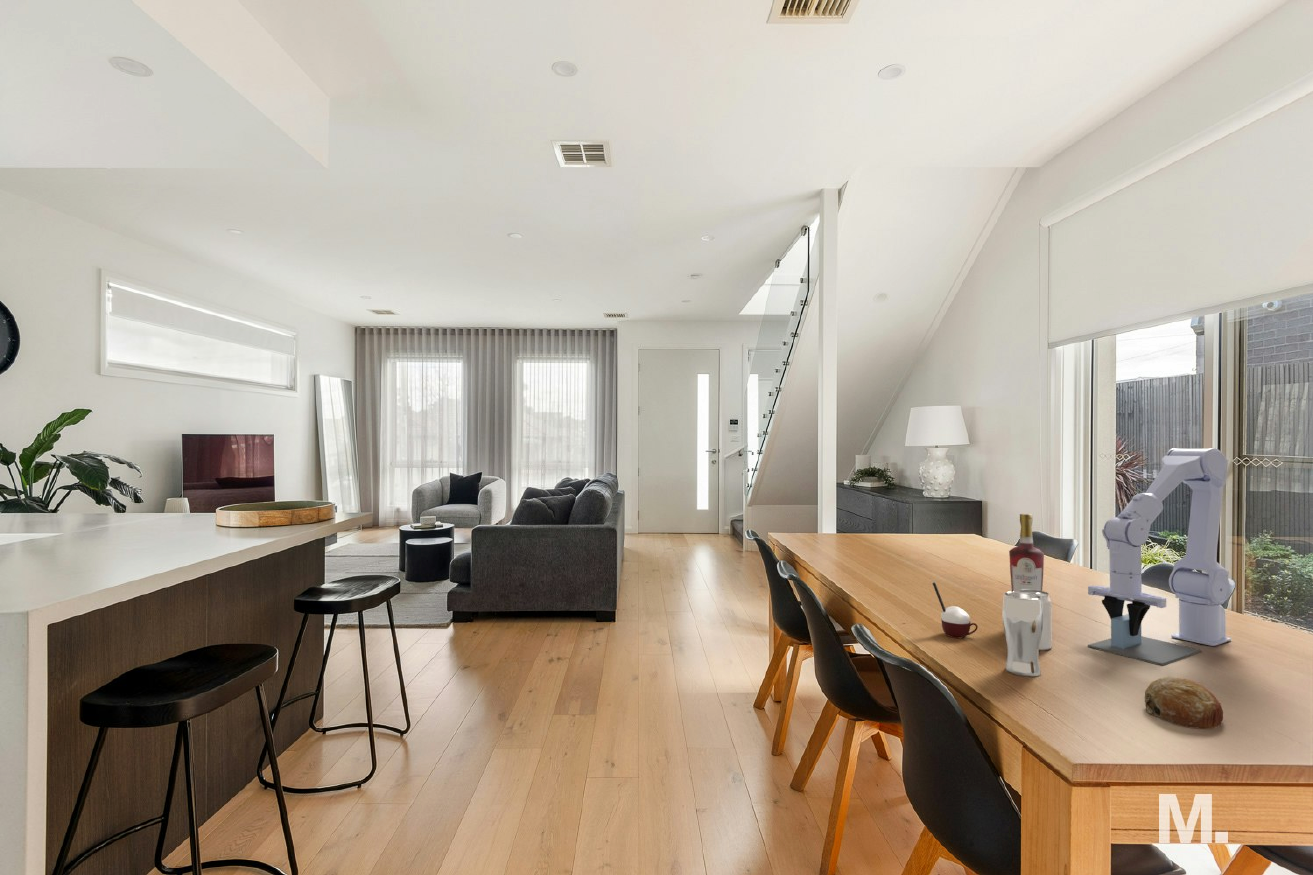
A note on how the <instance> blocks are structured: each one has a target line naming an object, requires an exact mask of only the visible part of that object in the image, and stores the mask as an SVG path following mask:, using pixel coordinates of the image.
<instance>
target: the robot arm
mask: <svg viewBox="0 0 1313 875" xmlns="http://www.w3.org/2000/svg"><path fill="white" fill-rule="evenodd" d="M1228 464H1229V459H1227V457H1226V456H1225V455H1224V454H1223V452H1222V451H1221V450H1220V449H1218V448H1216V447H1215V448H1214V447H1212V448H1211V447H1210V448H1179V447H1178V448H1175V447H1174V448H1170V449H1169V450H1168V451H1167V452H1166V453H1165V455H1164V456H1163V457H1162V458H1161V469H1160V470H1159V473H1158V474H1157V475H1156V477H1154V480H1153V481H1152V482H1151V484H1150V485H1149V487H1148V488H1147V489H1146V491H1145V492H1143V493H1142V492H1140V493H1137V494H1136V495H1135V494H1134V495H1133V497H1131V500H1130V501H1129V502H1128V504H1127V505H1126V506H1125V507H1124V508H1123V509H1122V510H1121V512H1120V513H1119V515H1117V517H1111V518H1110V519H1108V520H1107V521H1106V522H1105V523H1104V526H1103V529H1102V530H1101V533H1102V536H1103V538H1104V539H1105V541H1106V548H1107V550H1109V552H1108V553H1109V587H1105V586H1098V585H1094V584H1093V585H1092V584H1091V585H1088V586H1087V594H1088V595H1089V596H1099V597H1103V599H1101V604H1102V605H1103V607H1104V608H1105V610H1106V612H1107V614H1108V617H1109V619H1110V620H1111V618H1115V617H1119V616H1123V612H1124V605H1125V602H1130V603H1127V604H1126V609H1127V614H1129V630H1130V635H1131V636H1136V635H1138V632H1139V628H1140V625H1141V626H1142V622H1143V620H1144V618H1145V616H1146V614H1147V613H1148V611H1149V610H1150V608H1151V606H1153V607H1156V608H1159V609H1164V608H1167V598H1166V597H1162V596H1156V595H1153V594H1148V593H1146V592H1142V590H1143V589H1142V586H1143V585H1142V584H1143V583H1142V545H1143V544H1145V543H1147V541H1148V539H1149V534H1150V530H1151V527H1152V526H1151V525H1152V524H1153V523H1154V521H1155V520H1156V519H1157V517H1159V515H1160V514H1161V513H1162V512H1163V510H1164V504H1163V501H1164V500H1165V499H1166V498H1167V497H1168V496H1170V494H1171V493H1172V492H1173V491H1174V490H1175V489H1176V488H1177V487H1178V486H1179V485H1180V484H1181V483H1183V484H1186V485H1187V486H1188V487H1189V488H1190V489H1191V490H1192V494H1191V503H1190V513H1189V515H1190V516H1189V521H1188V532H1187V539H1186V550H1185V556H1184V557H1182V558H1180V559H1178V560H1176V561H1174V564H1173V569H1172V571H1171V573H1170V574H1169V578H1168V585H1169V589H1170V590H1171V592H1172V593H1173V594H1175V595H1174V596H1175V598H1177V599H1178V630H1179V631H1178V632H1176V633H1173V634H1171V636H1170V637H1171V638H1172V639H1178V640H1183V641H1187V642H1191V643H1192V642H1193V643H1197V644H1202V645H1205V646H1210V647H1216V646H1219V645H1221V644H1222V645H1223V644H1224V643H1227V642H1230V641H1232V638H1231V637H1227V636H1226V635H1227V633H1226V632H1227V631H1226V630H1227V628H1226V627H1227V626H1226V618H1227V617H1226V611H1225V609H1224V607H1223V606H1222V605H1224V603H1225V602H1226V601H1227V600H1228V599H1229V597H1230V595H1231V592H1232V591H1231V585H1230V581H1229V571H1228V570H1227V569H1226V567H1224V566H1223V565H1221V564H1220V563H1219V562H1218V561H1217V555H1218V554H1217V553H1218V542H1219V536H1220V535H1219V532H1220V525H1221V524H1220V523H1221V516H1222V515H1221V513H1222V505H1223V497H1224V496H1223V495H1224V486H1226V485H1227V483H1226V481H1227V473H1228ZM1195 570H1197V571H1195ZM1200 571H1202V572H1200Z"/></svg>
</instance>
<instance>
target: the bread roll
mask: <svg viewBox="0 0 1313 875" xmlns="http://www.w3.org/2000/svg"><path fill="white" fill-rule="evenodd" d="M1144 703H1145V704H1144V706H1145V707H1146V713H1147V714H1150V715H1152V716H1155V717H1156V718H1159V719H1161V720H1164V721H1167V722H1170V723H1171V724H1174V725H1178V726H1182V727H1187V728H1192V729H1203V730H1205V729H1206V730H1207V729H1208V730H1209V729H1213V728H1216V727H1219V726H1221V724H1222V722H1223V720H1224V711H1223V708H1222V705H1221V702H1220V701H1219V700H1218V699H1217V697H1216V696H1215V695H1214V694H1213V693H1212V692H1211V691H1210V690H1208V689H1207V688H1206V687H1205V686H1203V685H1201V684H1199V683H1198V682H1195V681H1193V680H1190V679H1187V678H1181V677H1171V676H1169V677H1162V678H1161V677H1160V678H1157V679H1154V680H1153V681H1152V682H1150V684H1149V685H1148V686H1147V688H1146V690H1145V691H1144Z"/></svg>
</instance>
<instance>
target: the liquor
mask: <svg viewBox="0 0 1313 875" xmlns="http://www.w3.org/2000/svg"><path fill="white" fill-rule="evenodd" d="M1033 518H1034V517H1033V514H1030V513H1020V514H1019V523H1020V534H1019V543H1018V544H1019V545H1018V546H1015V547H1013V548H1011V549H1009V550H1008V552H1009V554H1008V555H1009V573H1010V585H1011V592H1020V590H1026V589H1027V590H1039V591H1043V584H1044V583H1043V582H1044V567H1045V566H1044V565H1045V562H1044V560H1045V553H1044V552H1043V551H1041V549H1040V548H1037V547H1034V538H1033V528H1032V527H1033Z"/></svg>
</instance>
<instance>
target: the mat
mask: <svg viewBox="0 0 1313 875" xmlns="http://www.w3.org/2000/svg"><path fill="white" fill-rule="evenodd" d="M1141 640H1142V643H1140V644H1137V645H1134V646H1131V647H1127V648H1124V649H1123V648H1119V647H1115V646H1111V637H1110V638H1106V639H1104V640H1100V641H1096V642H1093V643H1089V644H1087V647H1088V648H1092V649H1096V650H1100V651H1102V652H1106V653H1111V654H1115V655H1118V656H1119V655H1120V656H1122V657H1125V658H1130V659H1131V658H1132V659H1134V660H1139V661H1142V662H1146V663H1151V664H1154V665H1158V666H1165V665H1168V664H1171V663H1174V662H1177V661H1179V660H1182V659H1185V658H1188V657H1190V656H1194V655H1196V654H1199V653H1202V652H1203V650H1202V649H1201V648H1196V647H1192V646H1191V647H1190V646H1186V645H1182V644H1179V643H1178V644H1177V643H1173V642H1169V641H1163V640H1159V639H1155V638H1151V637H1147V636H1142V635H1141Z"/></svg>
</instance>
